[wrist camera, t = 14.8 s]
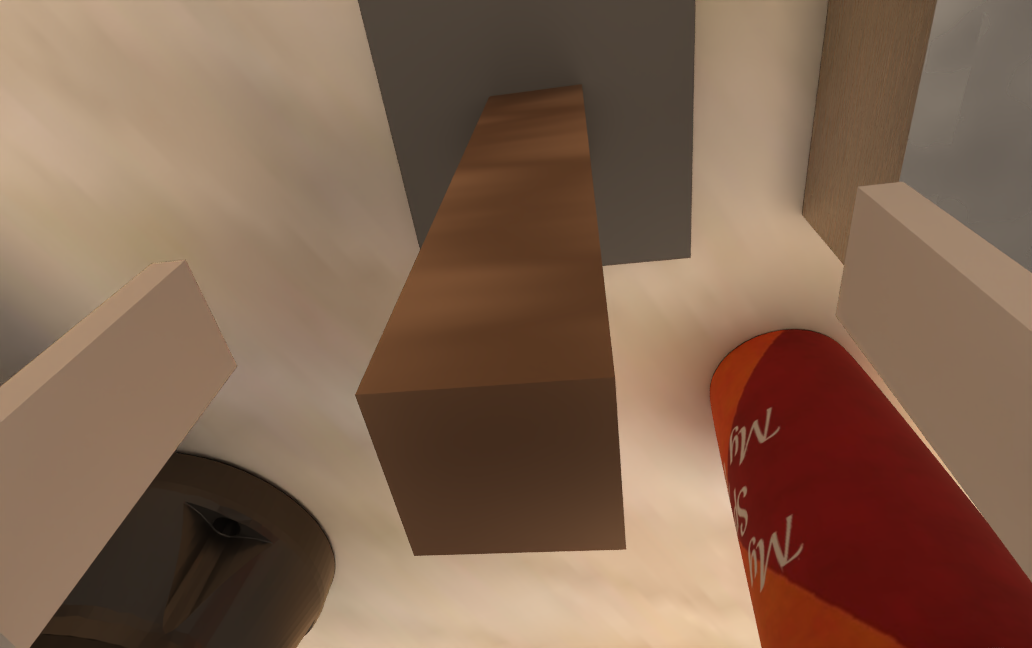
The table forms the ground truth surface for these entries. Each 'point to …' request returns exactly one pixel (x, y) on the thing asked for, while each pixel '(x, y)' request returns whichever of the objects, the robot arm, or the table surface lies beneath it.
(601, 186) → the pad
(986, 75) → the grey block with hole
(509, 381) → the rod
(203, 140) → the table surface
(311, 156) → the table surface
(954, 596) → the coffee cup
